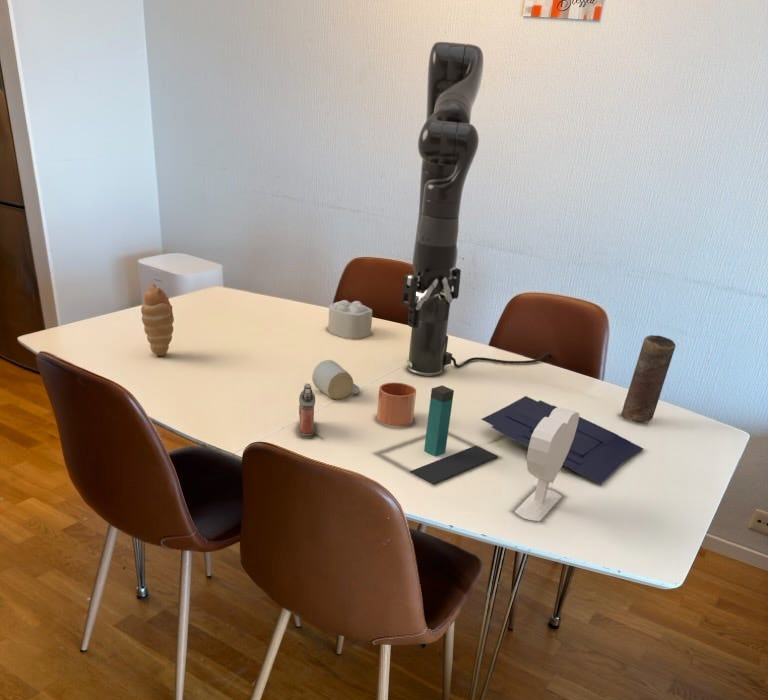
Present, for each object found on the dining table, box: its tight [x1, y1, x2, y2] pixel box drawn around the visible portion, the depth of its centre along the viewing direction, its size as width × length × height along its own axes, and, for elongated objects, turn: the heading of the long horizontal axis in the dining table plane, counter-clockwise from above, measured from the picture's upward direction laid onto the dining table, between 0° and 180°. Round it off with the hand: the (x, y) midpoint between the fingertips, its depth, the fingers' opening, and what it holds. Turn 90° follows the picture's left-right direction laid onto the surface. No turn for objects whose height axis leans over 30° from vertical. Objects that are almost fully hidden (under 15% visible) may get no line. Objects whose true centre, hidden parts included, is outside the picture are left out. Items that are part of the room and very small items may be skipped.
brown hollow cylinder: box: [620, 334, 677, 424], centre depth 169 cm, size 8×7×20 cm
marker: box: [423, 385, 455, 458], centre depth 145 cm, size 3×3×14 cm
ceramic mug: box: [311, 359, 360, 401], centre depth 171 cm, size 11×8×8 cm
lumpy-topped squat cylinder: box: [327, 299, 373, 340], centre depth 214 cm, size 10×13×9 cm
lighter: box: [298, 382, 316, 439], centre depth 151 cm, size 8×3×10 cm, turn 5°
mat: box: [409, 445, 499, 485], centre depth 148 cm, size 20×16×1 cm
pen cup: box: [376, 382, 417, 427], centre depth 160 cm, size 8×8×8 cm
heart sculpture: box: [514, 406, 580, 522], centre depth 130 cm, size 16×5×18 cm, turn 148°
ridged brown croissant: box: [140, 282, 175, 357], centre depth 181 cm, size 9×8×18 cm
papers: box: [481, 395, 644, 485], centre depth 158 cm, size 24×30×4 cm
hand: (427, 323), depth 144 cm, fingers open, 8 cm apart
